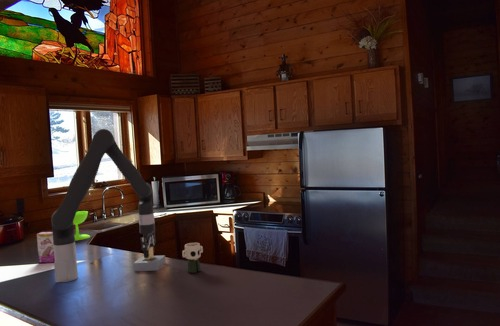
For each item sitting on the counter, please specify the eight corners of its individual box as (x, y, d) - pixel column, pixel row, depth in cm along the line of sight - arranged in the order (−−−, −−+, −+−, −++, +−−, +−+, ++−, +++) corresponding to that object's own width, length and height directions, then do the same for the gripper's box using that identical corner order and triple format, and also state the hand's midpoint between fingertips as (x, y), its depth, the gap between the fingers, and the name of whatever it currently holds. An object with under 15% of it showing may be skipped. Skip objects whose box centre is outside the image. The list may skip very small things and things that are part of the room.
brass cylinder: (152, 268, 196) (151, 248, 196) (144, 268, 197) (143, 248, 196) (155, 265, 200) (153, 246, 200) (147, 266, 201) (146, 246, 200)
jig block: (157, 270, 192) (157, 262, 192) (134, 271, 193) (133, 263, 193) (165, 263, 204) (165, 255, 204) (143, 263, 205) (142, 256, 205)
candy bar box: (38, 263, 220) (35, 234, 220) (43, 260, 225) (41, 232, 225) (57, 262, 219) (54, 233, 218) (62, 260, 224) (60, 231, 223)
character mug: (188, 276, 180) (185, 248, 179) (180, 273, 185) (178, 245, 185) (208, 270, 187) (206, 243, 186) (200, 267, 192) (198, 240, 192)
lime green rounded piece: (60, 240, 277) (58, 215, 276) (76, 235, 292) (74, 211, 292) (79, 241, 273) (77, 215, 272) (94, 235, 288) (92, 211, 287)
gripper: (149, 225, 190) (151, 259, 191) (158, 219, 204) (161, 251, 205) (133, 226, 191) (136, 259, 192) (144, 220, 205) (147, 251, 206)
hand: (149, 255), depth 198 cm, fingers open, 7 cm apart
